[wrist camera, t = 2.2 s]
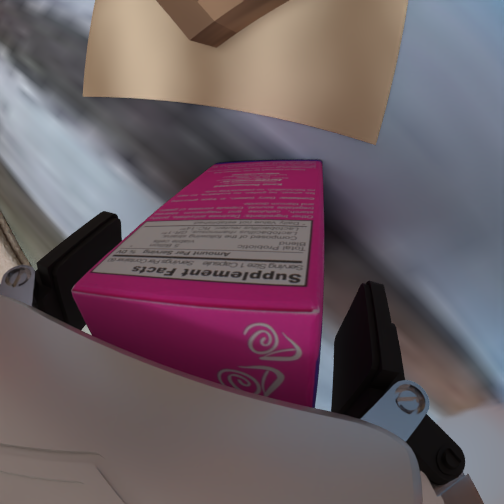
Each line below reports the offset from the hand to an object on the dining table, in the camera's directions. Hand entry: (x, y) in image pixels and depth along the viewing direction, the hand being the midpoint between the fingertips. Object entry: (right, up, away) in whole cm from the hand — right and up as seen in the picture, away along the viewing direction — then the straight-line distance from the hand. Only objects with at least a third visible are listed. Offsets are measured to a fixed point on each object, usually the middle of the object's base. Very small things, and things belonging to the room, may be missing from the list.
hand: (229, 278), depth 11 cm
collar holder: (+1, +17, -2) cm, 17 cm away
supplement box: (+2, +3, +5) cm, 7 cm away
